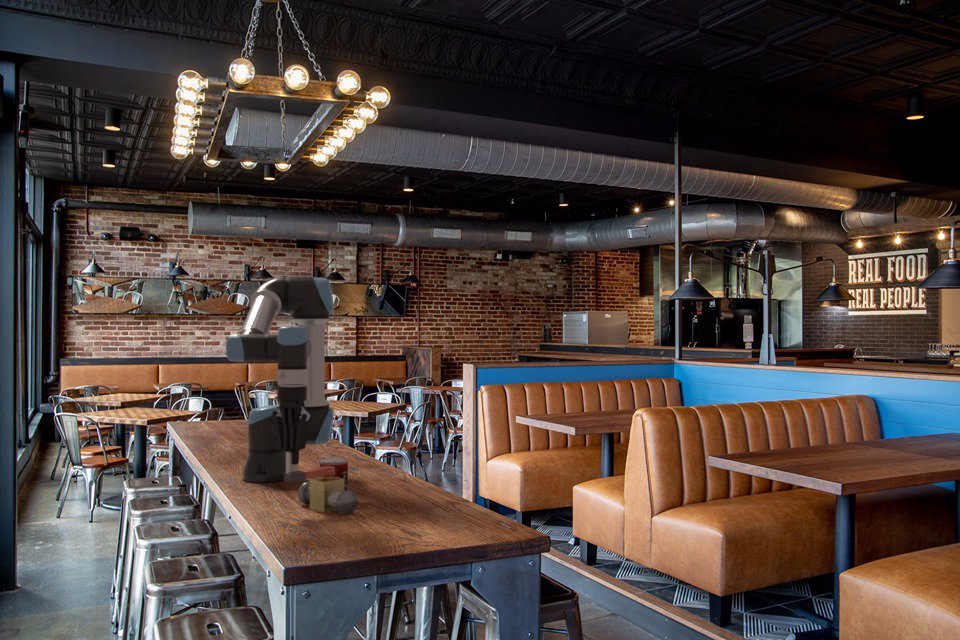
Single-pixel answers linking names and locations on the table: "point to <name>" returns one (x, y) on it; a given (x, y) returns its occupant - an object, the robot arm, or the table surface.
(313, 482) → the valve pipe
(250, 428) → the robot arm
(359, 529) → the table surface
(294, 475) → the lever
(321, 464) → the canned food
